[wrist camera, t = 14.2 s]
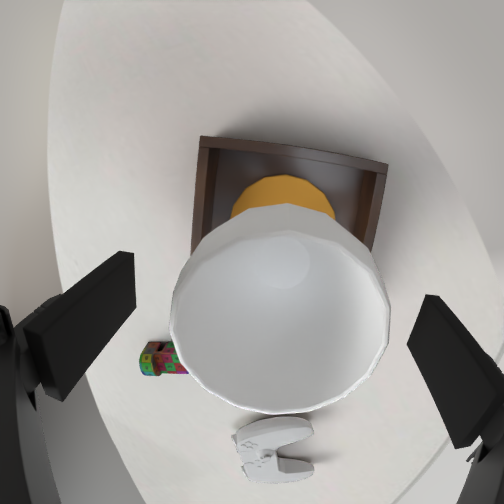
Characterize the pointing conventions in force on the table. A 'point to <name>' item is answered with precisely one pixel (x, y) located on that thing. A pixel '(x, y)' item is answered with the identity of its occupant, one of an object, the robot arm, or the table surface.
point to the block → (160, 360)
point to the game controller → (272, 449)
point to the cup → (280, 303)
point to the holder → (279, 163)
